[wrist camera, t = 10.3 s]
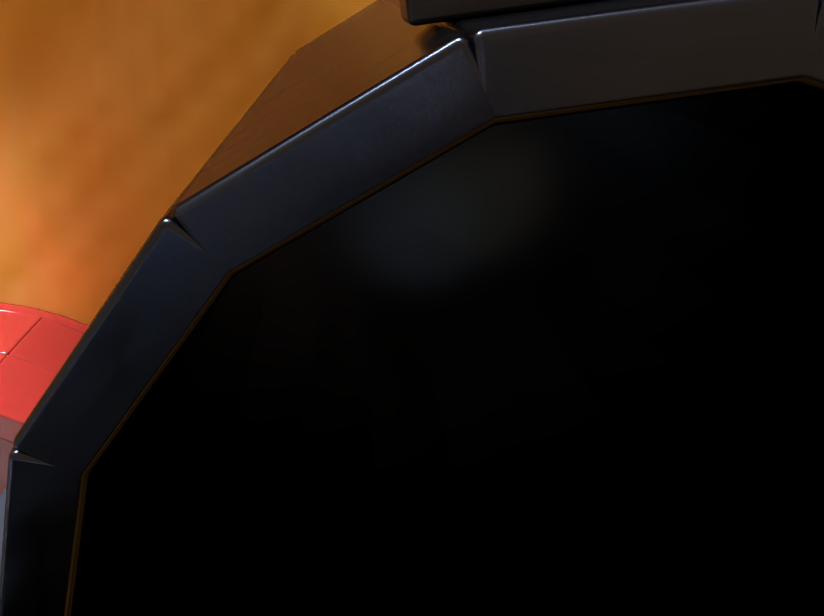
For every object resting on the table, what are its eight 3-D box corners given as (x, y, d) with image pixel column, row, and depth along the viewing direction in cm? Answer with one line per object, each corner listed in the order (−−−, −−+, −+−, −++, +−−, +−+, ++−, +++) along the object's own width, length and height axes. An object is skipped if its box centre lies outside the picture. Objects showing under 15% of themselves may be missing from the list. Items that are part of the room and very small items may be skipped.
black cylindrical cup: (288, 506, 20) (218, 1103, 10) (150, -60, 14) (-456, -192, 4) (676, 448, 21) (1040, 965, 10) (699, -133, 15) (1695, -462, 4)
